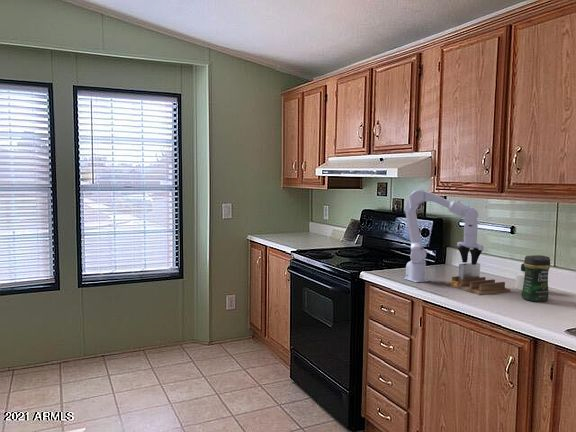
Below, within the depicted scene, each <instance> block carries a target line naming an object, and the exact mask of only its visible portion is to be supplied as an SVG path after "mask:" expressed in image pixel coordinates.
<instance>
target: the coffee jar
mask: <svg viewBox="0 0 576 432" xmlns="http://www.w3.org/2000/svg"><path fill="white" fill-rule="evenodd" d="M523 263H524V267H525V277H524V284H523V290H522V291H521V297H522V299H523V300H525V301H529V302H530V301H531V302H538V303H539V302H547V301H548V300H549V271H550V268H551V259H550V257H549V256H546V255H539V254H538V255H537V254H536V255H526V256H525V257H524V262H523Z"/></svg>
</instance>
